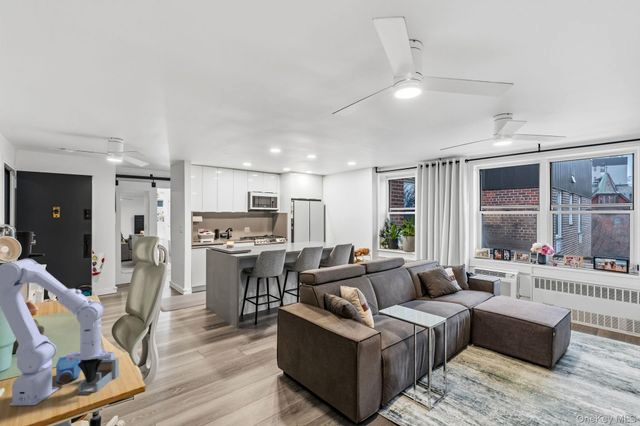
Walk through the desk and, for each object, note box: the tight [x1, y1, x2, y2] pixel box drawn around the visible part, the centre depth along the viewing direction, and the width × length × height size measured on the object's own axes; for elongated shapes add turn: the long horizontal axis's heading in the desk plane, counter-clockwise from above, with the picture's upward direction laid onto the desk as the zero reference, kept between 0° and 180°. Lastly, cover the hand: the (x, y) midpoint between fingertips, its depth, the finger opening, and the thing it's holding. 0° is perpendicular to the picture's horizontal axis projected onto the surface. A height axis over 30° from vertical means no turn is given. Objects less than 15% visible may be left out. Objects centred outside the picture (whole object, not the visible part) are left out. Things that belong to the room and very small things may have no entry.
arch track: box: [77, 357, 121, 396], centre depth 110 cm, size 16×8×7 cm, turn 2°
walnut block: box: [98, 362, 113, 373], centre depth 115 cm, size 4×4×4 cm
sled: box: [88, 373, 108, 386], centre depth 112 cm, size 10×4×4 cm, turn 2°
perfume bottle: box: [55, 356, 82, 384], centre depth 112 cm, size 6×6×12 cm
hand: (90, 381), depth 106 cm, fingers closed, pressing on sled
